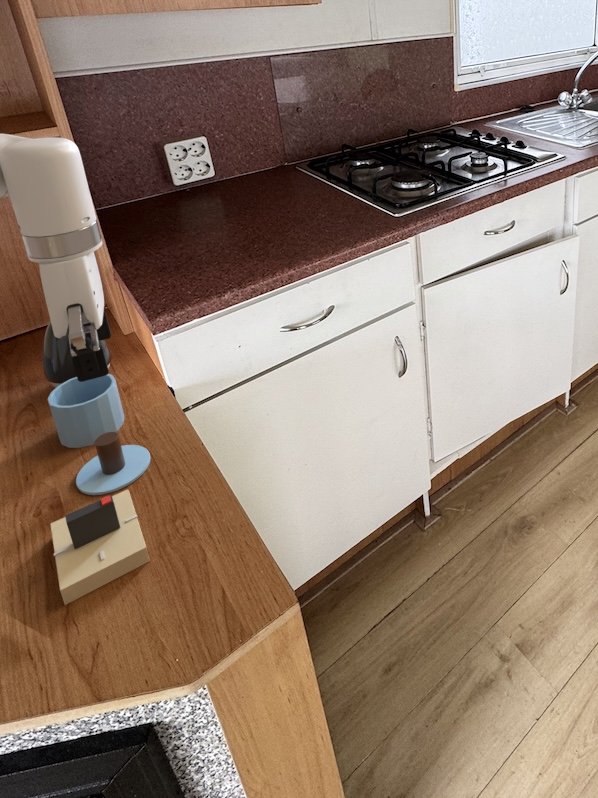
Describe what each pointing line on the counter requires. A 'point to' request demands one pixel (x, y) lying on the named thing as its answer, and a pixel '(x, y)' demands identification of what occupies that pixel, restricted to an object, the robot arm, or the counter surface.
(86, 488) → the pot lid
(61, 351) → the glossy black egg dome
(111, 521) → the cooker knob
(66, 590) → the beige switch box
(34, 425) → the counter surface
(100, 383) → the pot
